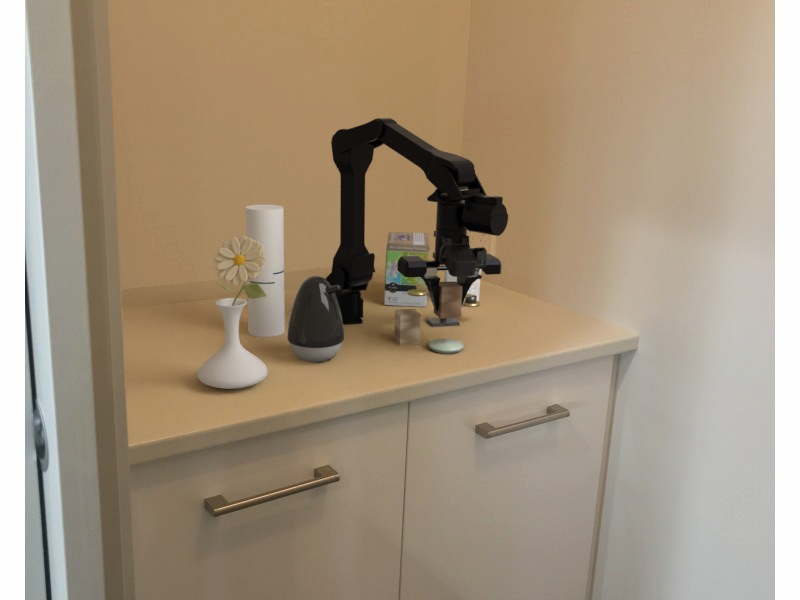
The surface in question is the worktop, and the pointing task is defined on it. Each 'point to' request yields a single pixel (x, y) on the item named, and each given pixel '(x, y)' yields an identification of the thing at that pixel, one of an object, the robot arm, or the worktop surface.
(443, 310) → the block walnut
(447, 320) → the balance
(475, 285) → the jar
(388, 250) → the tea box
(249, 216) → the cylindrical container
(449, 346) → the dish
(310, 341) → the pump dispenser
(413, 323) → the block beech
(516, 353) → the worktop surface
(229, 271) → the flower in vase
